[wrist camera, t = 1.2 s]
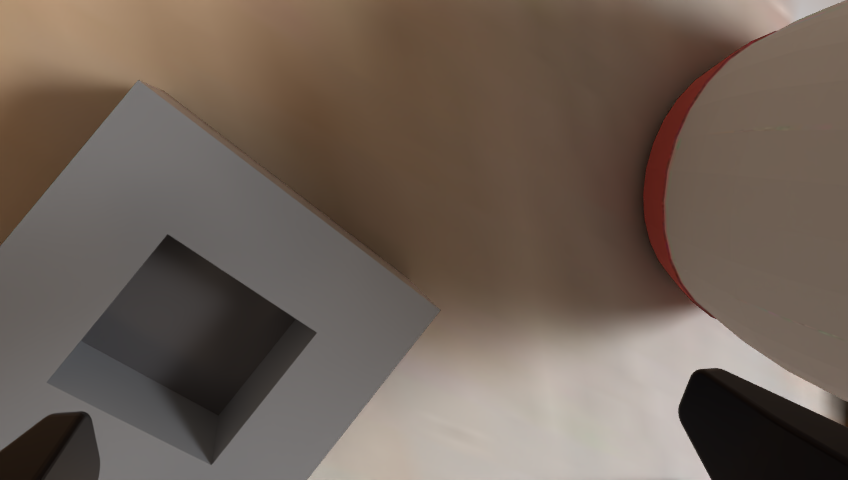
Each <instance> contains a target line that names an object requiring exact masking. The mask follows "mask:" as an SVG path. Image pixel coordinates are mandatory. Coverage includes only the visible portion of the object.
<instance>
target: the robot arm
mask: <svg viewBox="0 0 848 480" xmlns="http://www.w3.org/2000/svg"><path fill="white" fill-rule="evenodd" d="M678 414H679V419H680V421H681V424H682V426H683V427H684V429H685V431H686V433H687V435H688V437H689V439H690V441H691V442H692V444H693V446H694V448H695V450H696V452H697V454H698V456H699V457H700V459H701V461H702V463H703V465H704V467H705V469H706V471H707V472H708V474H709V476H710V478H711V480H848V427H845V426H843V425H841V424H839V423H837V422H835V421H833V420H830V419H828V418H826V417H824V416H822V415H820V414H817V413H815V412H813V411H811V410H809V409H807V408H805V407H802V406H800V405H798V404H796V403H794V402H792V401H790V400H787V399H785V398H783V397H781V396H779V395H777V394H774V393H772V392H770V391H768V390H766V389H764V388H762V387H759V386H757V385H755V384H753V383H751V382H749V381H747V380H744V379H742V378H740V377H738V376H736V375H734V374H731V373H729V372H727V371H725V370H723V369H718V368H711V369H699V370H696V371H695V372H694V373H693V374H692V375H691V377H690V379H689V382H688V384H687V387H686V389H685V392H684V394H683V397H682V399H681V402H680V404H679V409H678ZM99 473H100V456H99V451H98V446H97V441H96V437H95V432H94V427H93V422H92V419H91V417H90V415H89V414H88V413H87V412H84V411H77V412H62V413H53V414H50V415H48V416H46V417H45V418H43V419H42V420H40V421H39V422H38V423H36V424H35V425H34V426H33V427H31V428H30V429H29V430H27V431H26V432H25V433H23V434H22V435H21V436H19V437H18V438H17V439H15V440H14V441H13V442H11V443H10V444H9V445H7V446H6V447H5V448H4V449H2V450H1V451H0V480H98V478H99Z"/></svg>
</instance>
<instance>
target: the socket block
mask: <svg viewBox="0 0 848 480" xmlns="http://www.w3.org/2000/svg"><path fill="white" fill-rule="evenodd" d="M439 312H440V309H439V308H438V307H437V306H436V305H435V304H434V303H433V302H432V301H431V300H430V299H429V298H428V297H427V296H426V295H425V294H424V293H423V292H422V291H421V290H420V289H419V288H417V287H416V286H415V285H414V284H413V283H412V282H411V281H410V280H409V279H408V278H407V277H406V276H404V275H403V274H402V273H400V272H399V271H398V270H397V269H395V268H394V267H393V266H391V265H390V264H389V263H387V262H386V261H385V260H384V259H382V258H381V257H380V256H378V255H377V254H376V253H374V252H373V251H372V250H371V249H369V248H368V247H367V246H365V245H364V244H363V243H361V242H360V241H359V240H358V239H356V238H355V237H354V236H352V235H351V234H350V233H348V232H347V231H346V230H345V229H343V228H342V227H341V226H339V225H338V224H337V223H335V222H334V221H333V220H332V219H330V218H329V217H328V216H326V215H325V214H324V213H322V212H321V211H320V210H318V209H317V208H316V207H315V206H313V205H312V204H311V203H309V202H308V201H307V200H305V199H304V198H303V197H302V196H300V195H299V194H298V193H296V192H295V191H294V190H292V189H291V188H290V187H289V186H287V185H286V184H285V183H283V182H282V181H281V180H279V179H278V178H277V177H276V176H274V175H273V174H272V173H270V172H269V171H268V170H266V169H265V168H264V167H263V166H261V165H260V164H259V163H257V162H256V161H255V160H253V159H252V158H251V157H249V156H248V155H247V154H246V153H244V152H243V151H242V150H240V149H239V148H238V147H236V146H235V145H234V144H233V143H231V142H230V141H229V140H227V139H226V138H225V137H223V136H222V135H221V134H220V133H218V132H217V131H216V130H214V129H213V128H212V127H210V126H209V125H208V124H207V123H205V122H204V121H203V120H201V119H200V118H199V117H197V116H196V115H195V114H194V113H192V112H191V111H190V110H188V109H187V108H186V107H184V106H183V105H182V104H180V103H179V102H178V101H177V100H175V99H174V98H173V97H171V96H170V95H169V94H167V93H166V92H165V91H163V90H161V89H158V88H156V87H154V86H151V85H149V84H147V83H144V82H142V81H140V80H138V81H137V82H136V83H135V85H134V86H133V87H132V88H131V89H130V91H129V92H128V93H127V94H126V95H125V97H124V98H123V99H122V100H121V101H120V103H119V104H118V105H117V106H116V107H115V109H114V110H113V111H112V112H111V113H110V115H109V116H108V117H107V118H106V119H105V121H104V122H103V123H102V124H101V125H100V127H99V128H98V129H97V130H96V131H95V133H94V134H93V135H92V136H91V138H90V139H89V140H88V141H87V142H86V144H85V145H84V146H83V147H82V148H81V150H80V151H79V152H78V153H77V154H76V156H75V157H74V158H73V159H72V160H71V162H70V163H69V164H68V165H67V166H66V168H65V169H64V170H63V171H62V172H61V174H60V175H59V176H58V177H57V178H56V180H55V181H54V182H53V183H52V184H51V186H50V187H49V188H48V189H47V190H46V192H45V193H44V194H43V195H42V197H41V198H40V199H39V200H38V201H37V203H36V204H35V205H34V206H33V207H32V209H31V210H30V211H29V212H28V213H27V215H26V216H25V217H24V218H23V219H22V221H21V222H20V223H19V224H18V225H17V227H16V228H15V229H14V230H13V231H12V233H11V234H10V235H9V236H8V237H7V239H6V240H5V241H4V242H3V243H2V245H1V246H0V451H1V450H2V449H4V448H5V447H6V446H7V445H9V444H10V443H11V442H13V441H14V440H15V439H17V438H18V437H19V436H21V435H22V434H23V433H25V432H26V431H27V430H29V429H30V428H31V427H33V426H34V425H35V424H36V423H38V422H39V421H40V420H42V419H43V418H45V417H46V416H48V415H50V414H53V413H62V412H77V411H84V412H87V413H88V414H89V415H90V417H91V419H92V422H93V427H94V432H95V437H96V441H97V446H98V451H99V456H100V473H99V478H98V480H307V479H308V478H309V477H310V475H311V474H312V473H313V471H314V470H315V469H316V468H317V466H318V465H319V464H320V463H321V461H322V460H323V459H324V458H325V456H326V455H327V454H328V452H329V451H330V450H331V449H332V447H333V446H334V445H335V444H336V442H337V441H338V440H339V438H340V437H341V436H342V435H343V433H344V432H345V431H346V430H347V428H348V427H349V426H350V425H351V423H352V422H353V421H354V419H355V418H356V417H357V416H358V414H359V413H360V412H361V411H362V409H363V408H364V407H365V405H366V404H367V403H368V402H369V400H370V399H371V398H372V397H373V395H374V394H375V393H376V392H377V390H378V389H379V388H380V386H381V385H382V384H383V383H384V381H385V380H386V379H387V378H388V376H389V375H390V374H391V372H392V371H393V370H394V369H395V367H396V366H397V365H398V364H399V362H400V361H401V360H402V359H403V357H404V356H405V355H406V353H407V352H408V351H409V350H410V348H411V347H412V346H413V345H414V343H415V342H416V341H417V339H418V338H419V337H420V336H421V334H422V333H423V332H424V331H425V329H426V328H427V327H428V326H429V324H430V323H431V322H432V320H433V319H434V318H435V317H436V315H437V314H438V313H439Z"/></svg>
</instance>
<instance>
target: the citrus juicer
mask: <svg viewBox="0 0 848 480" xmlns="http://www.w3.org/2000/svg"><path fill="white" fill-rule="evenodd" d="M643 200H644V219H645V223H646V227H647V232H648V236H649V240H650V243H651V245H652V247H653V250H654V252H655V254H656V256H657V258H658V261H659V262H660V263H661V265H662V266H663V267H664V269H665V270H666V271H667V273H668V274H669V275H670V277H671V278H672V279H673V280H674V281H675V283H676V284H677V285H678V286H679V287H680V289H681V290H682V291H683V292H684V293H685V294H686V295H687V296H688V297H689V298H690V299H691V301H692V302H693V303H695V304H696V305H697V306H698V307H699V308H701V309H702V310H703V311H704V312H706V313H707V314H708V315H709V316H711V317H713V318H715V319H717V320H718V321H720V322H721V323H722V324H723V325H724V326H725V327H727V328H728V329H729V330H730V331H732V332H733V333H734V334H735V335H737V336H738V337H739V338H740V339H741V340H743V341H744V342H745V343H747V344H748V345H750V346H751V347H753V348H754V349H756V350H757V351H759V352H760V353H762V354H763V355H765V356H766V357H768V358H769V359H771V360H772V361H774V362H775V363H777V364H778V365H780V366H781V367H783V368H784V369H786V370H787V371H789V372H791V373H793V374H795V375H797V376H798V377H800V378H802V379H804V380H806V381H808V382H810V383H812V384H814V385H816V386H818V387H820V388H822V389H823V390H825V391H827V392H829V393H831V394H833V395H835V396H837V397H839V398H841V399H843V400H845V401H847V402H848V0H846V1H843V2H841V3H838V4H836V5H833V6H830V7H828V8H825V9H823V10H821V11H818V12H816V13H814V14H812V15H809V16H806V17H804V18H802V19H799V20H797V21H795V22H793V23H791V24H789V25H788V26H786V27H784V28H782V29H780V30H778V31H774V32H772V33H770V34H767V35H765V36H763V37H760V38H758V39H756V40H753V41H751V42H749V43H748V44H746V45H745V46H743V47H742V48H740V49H739V50H737V51H736V52H734V53H732V54H731V55H730V56H728V57H727V58H725V59H724V60H723V61H721V62H720V63H718V64H717V65H716V66H714V67H713V68H711V69H710V70H709V71H707V72H706V73H704V74H703V75H702V76H700V77H699V78H698V79H696V80H695V81H694V82H693V83H692V84H691V85H690V86H689V87H688V88H687V89H686V90H685V92H684V93H683V94H682V95H681V96H680V97H679V98H678V99H677V101H676V102H675V104H674V105H673V107H672V108H671V110H670V111H669V113H668V114H667V116H666V117H665V119H664V121H663V123H662V125H661V127H660V129H659V132H658V134H657V136H656V138H655V140H654V143H653V146H652V149H651V153H650V157H649V160H648V164H647V167H646V174H645V183H644V192H643Z"/></svg>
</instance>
